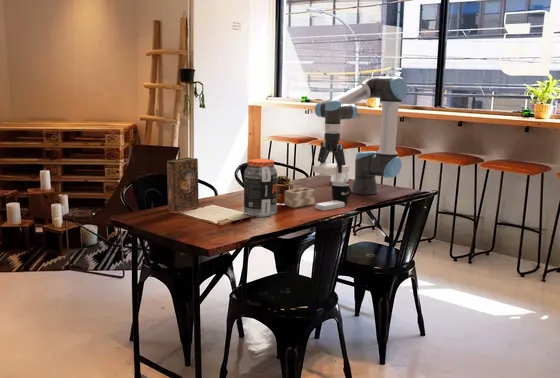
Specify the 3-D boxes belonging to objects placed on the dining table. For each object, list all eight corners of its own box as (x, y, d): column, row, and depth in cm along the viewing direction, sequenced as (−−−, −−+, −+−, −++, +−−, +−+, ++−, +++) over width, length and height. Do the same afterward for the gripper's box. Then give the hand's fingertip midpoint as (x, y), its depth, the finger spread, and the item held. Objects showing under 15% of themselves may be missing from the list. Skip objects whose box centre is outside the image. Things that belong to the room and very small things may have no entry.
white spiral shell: (342, 186, 342) (343, 171, 341) (325, 183, 349) (325, 169, 347) (351, 183, 352) (351, 168, 350) (333, 180, 358) (334, 166, 356)
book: (174, 214, 271) (173, 162, 266) (166, 212, 274) (164, 161, 269) (198, 208, 284) (197, 158, 279) (190, 206, 287) (189, 157, 282)
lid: (335, 171, 290) (335, 163, 289) (348, 174, 282) (349, 165, 281) (312, 173, 281) (312, 165, 280) (326, 176, 273) (326, 168, 272)
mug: (340, 206, 291) (340, 186, 289) (327, 203, 298) (328, 184, 296) (356, 203, 299) (357, 184, 297) (343, 200, 305) (344, 181, 303)
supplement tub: (279, 217, 268) (280, 162, 263) (245, 218, 265) (245, 163, 260) (274, 209, 283) (274, 157, 278) (242, 210, 281) (242, 157, 275)
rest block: (336, 205, 292) (336, 200, 291) (344, 208, 287) (344, 202, 287) (315, 209, 283) (315, 203, 283) (323, 212, 279) (323, 206, 278)
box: (305, 202, 298) (306, 187, 297) (314, 205, 293) (314, 189, 291) (284, 206, 290) (284, 190, 288) (293, 208, 284) (293, 193, 283)
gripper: (311, 130, 284) (309, 174, 288) (342, 135, 267) (341, 182, 271) (322, 130, 289) (321, 173, 293) (354, 134, 271) (352, 180, 275)
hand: (330, 177), depth 282 cm, fingers closed on lid, 10 cm apart
